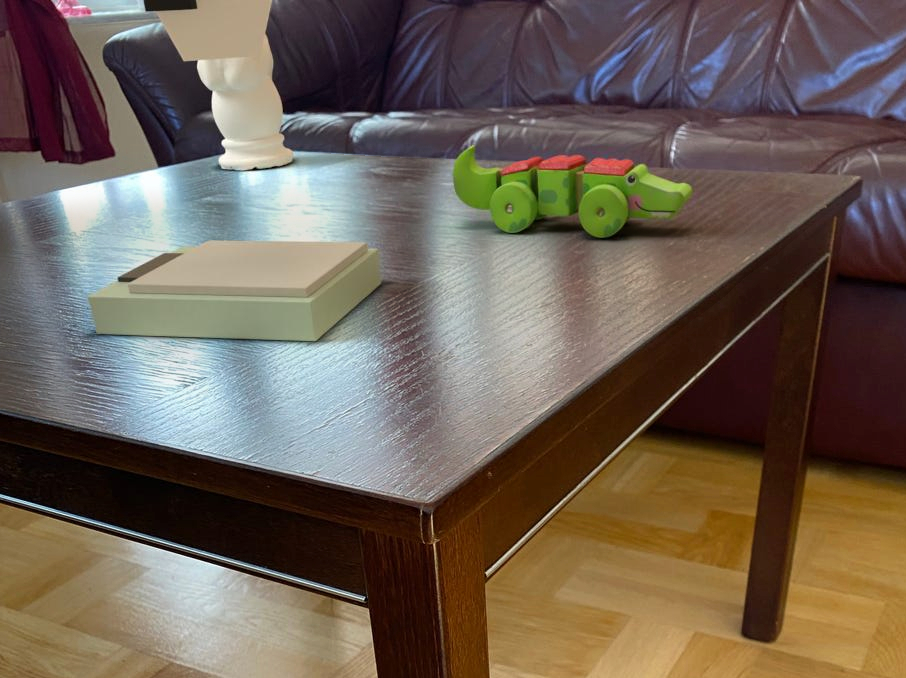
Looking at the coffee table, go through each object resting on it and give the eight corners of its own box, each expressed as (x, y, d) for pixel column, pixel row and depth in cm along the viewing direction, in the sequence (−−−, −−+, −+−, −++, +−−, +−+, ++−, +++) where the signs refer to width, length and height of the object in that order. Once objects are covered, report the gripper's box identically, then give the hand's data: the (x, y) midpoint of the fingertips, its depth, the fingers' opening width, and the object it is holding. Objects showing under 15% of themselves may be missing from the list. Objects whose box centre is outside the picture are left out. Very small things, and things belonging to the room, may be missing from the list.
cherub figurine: (264, 154, 124) (232, -66, 111) (340, 160, 118) (315, -72, 105) (188, 171, 116) (144, -64, 103) (265, 179, 110) (228, -70, 97)
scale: (96, 334, 65) (84, 286, 63) (189, 279, 76) (181, 237, 74) (315, 341, 62) (309, 291, 60) (381, 283, 72) (377, 239, 71)
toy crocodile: (696, 225, 83) (702, 142, 80) (674, 244, 78) (679, 157, 75) (477, 213, 90) (474, 138, 87) (444, 230, 85) (439, 151, 82)
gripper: (53, -715, 37) (183, 14, 49) (287, -502, 54) (339, -6, 67) (-123, -676, 38) (46, 20, 51) (160, -482, 56) (234, -1, 69)
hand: (212, 5), depth 59 cm, fingers closed on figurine, 9 cm apart
